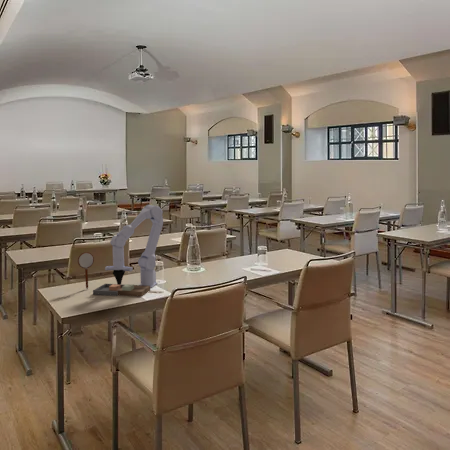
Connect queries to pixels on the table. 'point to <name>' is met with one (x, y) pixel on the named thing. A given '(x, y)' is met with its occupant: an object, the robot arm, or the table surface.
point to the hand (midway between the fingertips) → (119, 284)
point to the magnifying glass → (86, 263)
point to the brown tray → (135, 291)
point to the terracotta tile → (114, 287)
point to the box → (105, 290)
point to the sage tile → (128, 287)
